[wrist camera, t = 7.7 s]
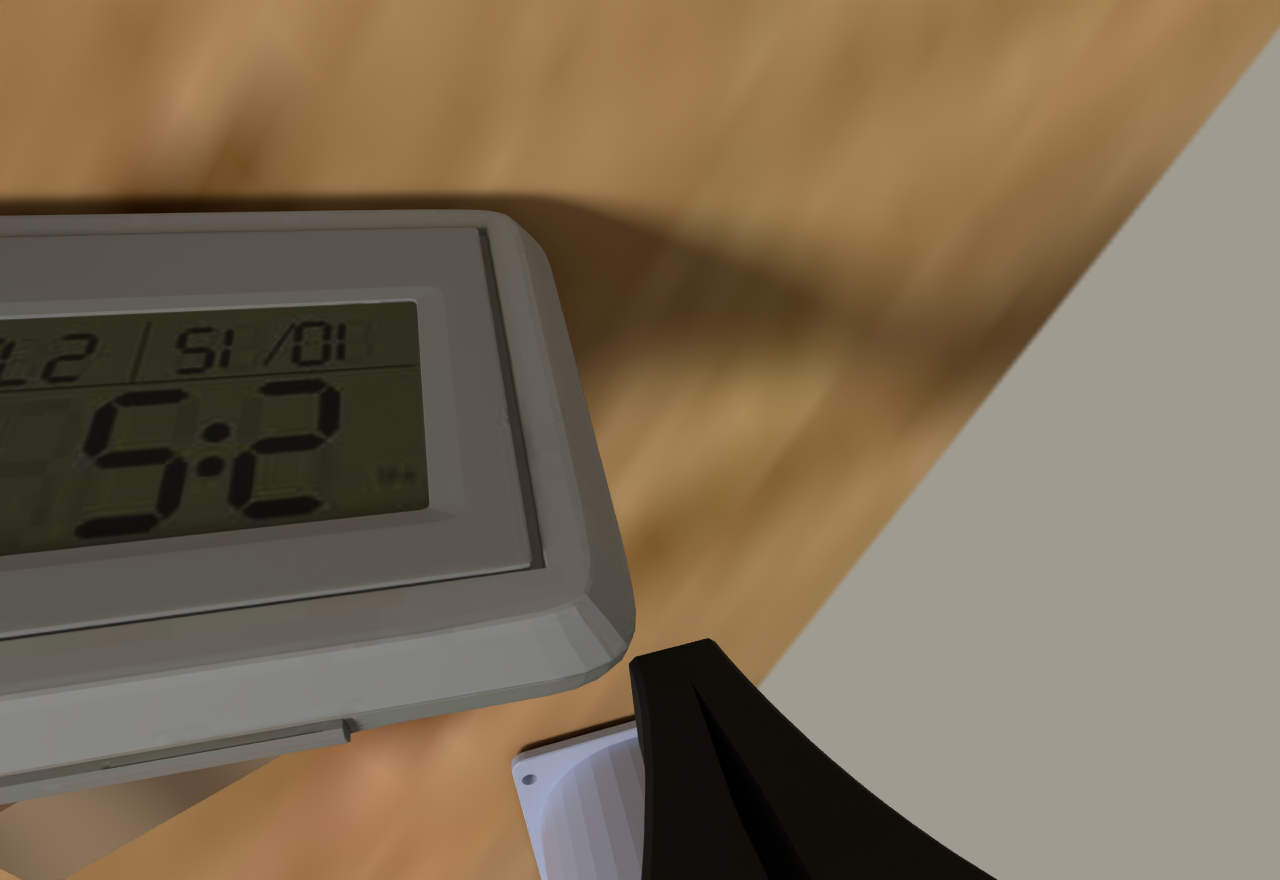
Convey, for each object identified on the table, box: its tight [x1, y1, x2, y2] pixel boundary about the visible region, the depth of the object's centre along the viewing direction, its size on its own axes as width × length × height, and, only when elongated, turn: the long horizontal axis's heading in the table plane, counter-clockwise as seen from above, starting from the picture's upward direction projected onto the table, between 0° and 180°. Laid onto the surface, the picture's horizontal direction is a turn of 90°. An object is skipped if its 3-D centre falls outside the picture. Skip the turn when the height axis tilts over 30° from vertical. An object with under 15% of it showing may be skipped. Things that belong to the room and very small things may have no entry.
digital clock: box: [0, 209, 636, 805], centre depth 13 cm, size 16×9×11 cm, turn 77°
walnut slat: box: [0, 754, 283, 880], centre depth 21 cm, size 12×3×2 cm, turn 116°
